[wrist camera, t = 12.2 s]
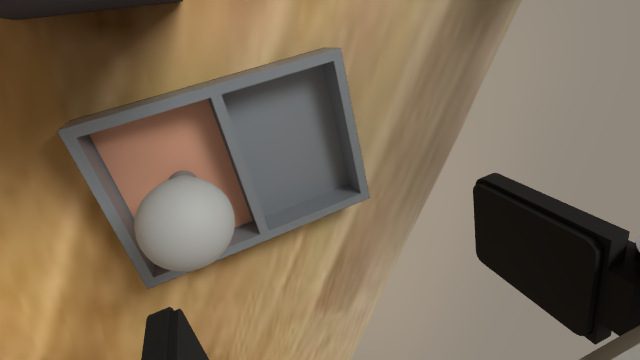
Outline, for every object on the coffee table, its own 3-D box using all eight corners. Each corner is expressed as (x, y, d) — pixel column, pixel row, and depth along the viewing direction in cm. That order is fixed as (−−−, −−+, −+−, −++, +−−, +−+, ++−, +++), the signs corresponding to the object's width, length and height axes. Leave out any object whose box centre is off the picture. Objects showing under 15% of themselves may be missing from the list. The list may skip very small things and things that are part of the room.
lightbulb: (221, 147, 31) (244, 196, 21) (219, 212, 33) (239, 284, 23) (141, 145, 28) (126, 200, 19) (144, 216, 30) (132, 298, 21)
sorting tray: (324, 47, 32) (340, 48, 29) (353, 185, 38) (369, 197, 35) (70, 120, 27) (57, 130, 24) (149, 266, 33) (147, 289, 30)
